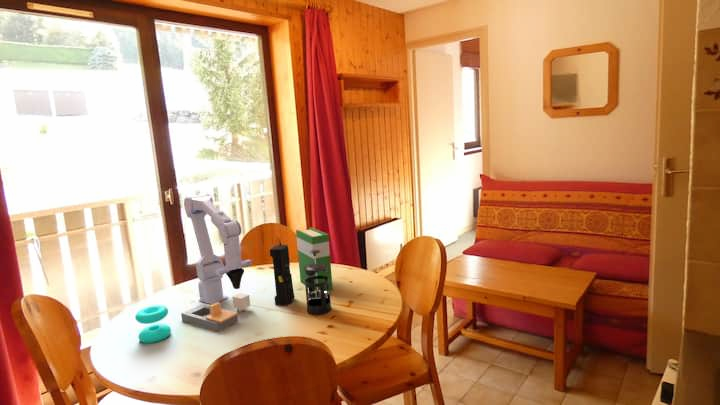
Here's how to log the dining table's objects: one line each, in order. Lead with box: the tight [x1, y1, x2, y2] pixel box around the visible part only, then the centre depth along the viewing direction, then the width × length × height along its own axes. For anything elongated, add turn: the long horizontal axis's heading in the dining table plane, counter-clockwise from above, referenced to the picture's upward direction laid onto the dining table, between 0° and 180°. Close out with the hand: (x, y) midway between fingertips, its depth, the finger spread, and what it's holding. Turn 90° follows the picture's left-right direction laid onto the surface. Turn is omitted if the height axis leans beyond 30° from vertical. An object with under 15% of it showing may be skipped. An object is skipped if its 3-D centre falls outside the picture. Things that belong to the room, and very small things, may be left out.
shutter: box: [206, 301, 239, 323], centre depth 152 cm, size 8×8×4 cm
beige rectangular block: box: [231, 292, 251, 313], centre depth 164 cm, size 5×4×6 cm
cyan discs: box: [135, 304, 172, 344], centre depth 146 cm, size 10×10×10 cm
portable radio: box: [269, 238, 296, 306], centre depth 168 cm, size 8×6×25 cm
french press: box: [304, 250, 333, 316], centre depth 159 cm, size 12×9×23 cm
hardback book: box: [295, 227, 333, 291], centre depth 184 cm, size 18×7×24 cm, turn 30°
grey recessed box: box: [180, 303, 239, 332], centre depth 156 cm, size 20×9×3 cm, turn 58°
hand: (236, 288), depth 162 cm, fingers closed
